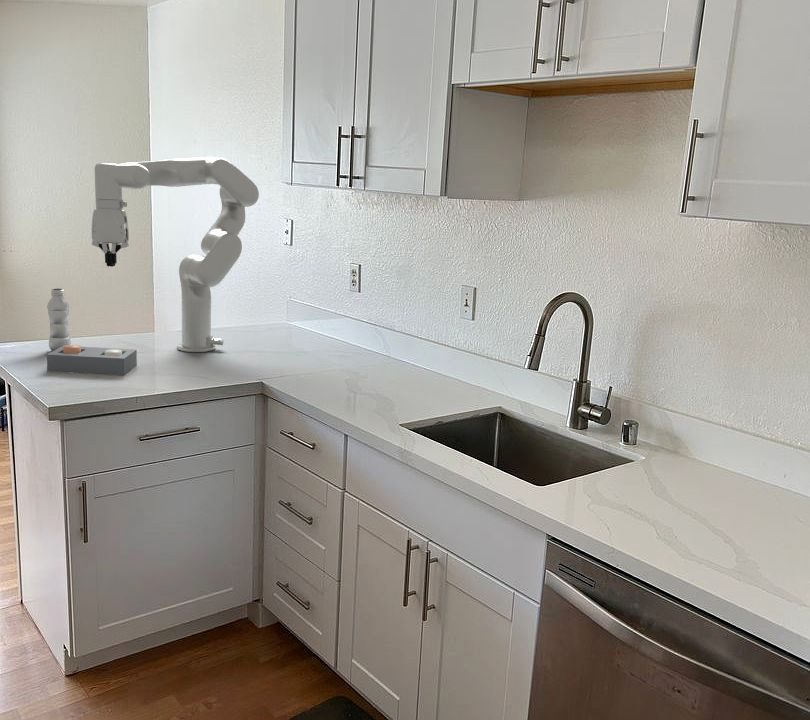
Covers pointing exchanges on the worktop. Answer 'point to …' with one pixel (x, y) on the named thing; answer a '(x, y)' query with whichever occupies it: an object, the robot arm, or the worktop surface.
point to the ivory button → (113, 352)
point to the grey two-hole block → (92, 361)
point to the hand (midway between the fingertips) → (111, 265)
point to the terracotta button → (72, 349)
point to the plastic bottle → (58, 320)
